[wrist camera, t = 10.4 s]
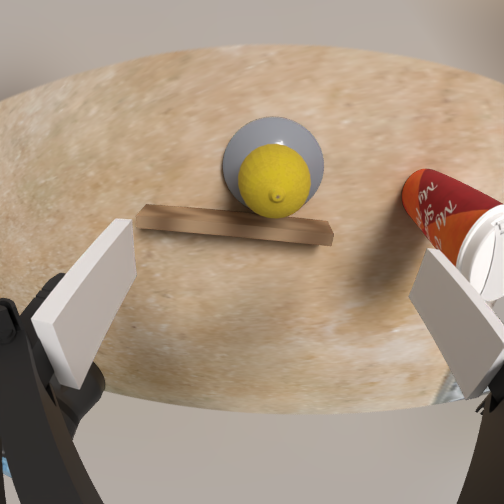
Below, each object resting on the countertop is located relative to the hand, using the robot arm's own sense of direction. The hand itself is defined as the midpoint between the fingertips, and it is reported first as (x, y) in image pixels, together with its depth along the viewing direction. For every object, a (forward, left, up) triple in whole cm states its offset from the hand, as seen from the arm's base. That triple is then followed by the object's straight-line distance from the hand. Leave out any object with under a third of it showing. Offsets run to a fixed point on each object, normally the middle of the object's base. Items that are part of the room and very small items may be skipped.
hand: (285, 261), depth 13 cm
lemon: (0, 0, -16) cm, 16 cm away
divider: (-3, -5, -17) cm, 18 cm away
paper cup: (+16, 0, -17) cm, 24 cm away
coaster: (0, 0, -17) cm, 17 cm away
